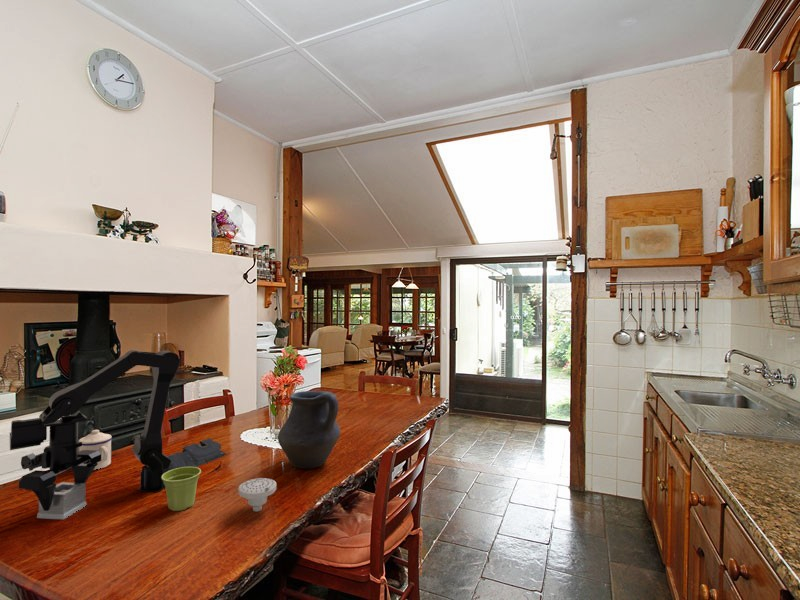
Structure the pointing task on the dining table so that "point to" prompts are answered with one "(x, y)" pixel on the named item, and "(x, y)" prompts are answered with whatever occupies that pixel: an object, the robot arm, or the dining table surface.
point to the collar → (65, 498)
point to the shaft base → (55, 516)
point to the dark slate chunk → (196, 454)
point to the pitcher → (310, 429)
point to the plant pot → (181, 487)
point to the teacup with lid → (98, 446)
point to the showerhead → (257, 491)
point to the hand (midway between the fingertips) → (62, 501)
